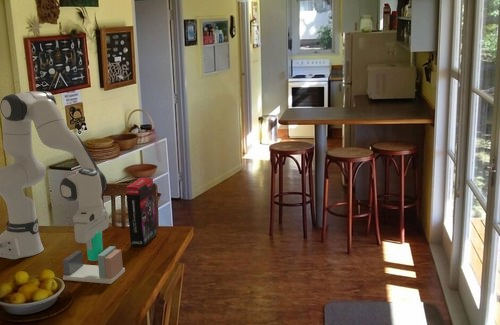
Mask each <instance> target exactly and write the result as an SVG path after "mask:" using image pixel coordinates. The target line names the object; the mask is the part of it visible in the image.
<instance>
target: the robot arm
mask: <svg viewBox="0 0 500 325" xmlns="http://www.w3.org/2000/svg"><path fill="white" fill-rule="evenodd" d="M0 112H1V114H2V116H3V120H2V143H3V144H2V146H3V147H2V149H3V150H4V152H5V153H6V154H7V155H10V156H11V157H12V159H13V163H12V164H8V165H5V166H1V167H0V196H1V197H2V198H3V200H4V202H5V205H6V210H7V215H8V221H6V223H3V227H6V229H5V230H4V231H3V232H2V233H1V234H0V258H5V259H9V260H18V259H21V258H27V257H32V256H35V255H38V254H40V253H42V252H43V251H44V250H45V248H44V246H43V244H42V241H41V237H40V232H39V227H40V226H39V219H38V217H37V210H36V209H37V208H36V202H35V200H34V199H33V198H31V197H29V196H26V194H25V192H24V189H27V188H30V187H33V186H35V185H37V184H39V183H40V182H42V181H44V180H45V178H46V176H47V175H46V174H47V169H46V167H45V165H44V163H43V162H41V161H40V160H38V159H37V157H36V155H35V153H34V150H33V136H32V133H33V132H32V122H33V124H34V127H35V130H36V132H37V135H38V138H39V140H40V142H41V143H42V144H43V145H45V147H48V148H50V149H53V150H58V151H59V150H61V151H64V152H66V153H69V154H71V155H73V156H74V157H75V159H76V161H77V163H78V164H79V166H80V168H81V169H79V170H77V172H76V173H74V174H71V175H68V176H65V177H64V178H62V179H61V182H60V184H59V192H60V195H61V197H62V198H63V199H64V200H66V201H68V202H75V201H77V202H78V208H77V211H76V212H75V214H74V215H73V216H72V222H73V223H74V226H73V228H74V229H73V230H74V238H75V241H76V243H78V244H86V249H87V248H88V250H91V249H93V245H92V243H91V241H92V238H93V237H95V234H97V233H99V232H100V231H101V232H102V233H103V232H104V231H105V230H106V229H108V228H109V227H110V217H109V212H108V211H107V209H106V206H105V205H104V201H103V198H102V194H103V193H104V192H105V190H106V188H107V184H108V182H107V178H106V176H105V174H104V173H103V172H102V171H101V169H100V168H99V167H98V165H97V164H96V162H95V161H94V159H93V157H92V156H91V153H90V152H89V150H88V148H87V146H86V145H85V144H84V141H82V139H81V138H80V136H79V135H77V134H75V133H74V132H73V131H72V130H71V129H70V128H69V126H68V124H66V121H65V118H64V116H63V114H62V112H61V111H60V108H59V107H58V106H57V101H56V98H55V96H54V94H52V92H50V91H46V90H40V91H37V90H36V91H35V90H34V91H25V92H19V93H15V94H14V93H12V94H8V95H5V96H3V97H2V98H1V101H0Z"/></svg>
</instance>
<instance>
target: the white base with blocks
mask: <svg viewBox="0 0 500 325" xmlns="http://www.w3.org/2000/svg"><path fill="white" fill-rule="evenodd" d="M116 247H117V246H115V245H114V246H111V245H109V246H108V247H107V248H105V249H103V252H102V253H100V254H99V255H98V260H97V265H94V264H93V265H92V264H83V266H82V267H80V268H79V269H78V270H76V271H75V272H74V273H72V274H71V275H64V274H63V275H62V279H63V281H74V282H82V283H83V282H84V283H85V282H87V283H95V284H109V285H111V284H113V283H114V282H115V281H116V280H117V279H119V278H120V277H121V276H122V275H123V274H124V273H125V272H126V268H125V267H124V266H123V254H122V249H117V248H116Z"/></svg>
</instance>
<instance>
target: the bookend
mask: <svg viewBox="0 0 500 325" xmlns="http://www.w3.org/2000/svg"><path fill="white" fill-rule="evenodd" d="M83 265H84V259H83V251H82V250H75V251H74V252H72V253H71V254H70V255H68V256H66V257H65V258H63V260H62V266H63V276H64V275H71V274H72V273H74V272H75V271H76V270H78V269H79V268H80V267H82V266H83Z"/></svg>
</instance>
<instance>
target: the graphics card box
mask: <svg viewBox="0 0 500 325" xmlns="http://www.w3.org/2000/svg"><path fill="white" fill-rule="evenodd" d="M154 188H155V187H154V180H153V178H151V177H139V178H137V179H136V180H135V181H134V182H131V183H130V184H129V185H126V187H125V194H126V196H125V197H126V206H127V216H128V225H129V226H128V227H129V237H130V247H136V248H137V247H139V248H140V247H141V248H142V247H143V248H144V247H146V245H147V244H148V243H150V241H152V239H154V238H155V237H156V236H157V235H158V227H157V225H158V224H157V213H156V211H157V210H156V202H155V190H154Z"/></svg>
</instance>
